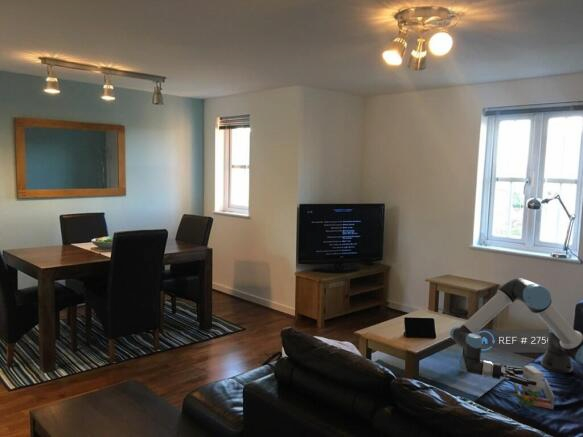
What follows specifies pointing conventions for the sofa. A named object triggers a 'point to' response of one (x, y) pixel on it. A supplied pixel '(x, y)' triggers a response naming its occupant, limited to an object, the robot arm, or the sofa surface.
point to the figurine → (525, 399)
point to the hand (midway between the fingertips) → (542, 380)
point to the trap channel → (542, 402)
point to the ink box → (532, 373)
